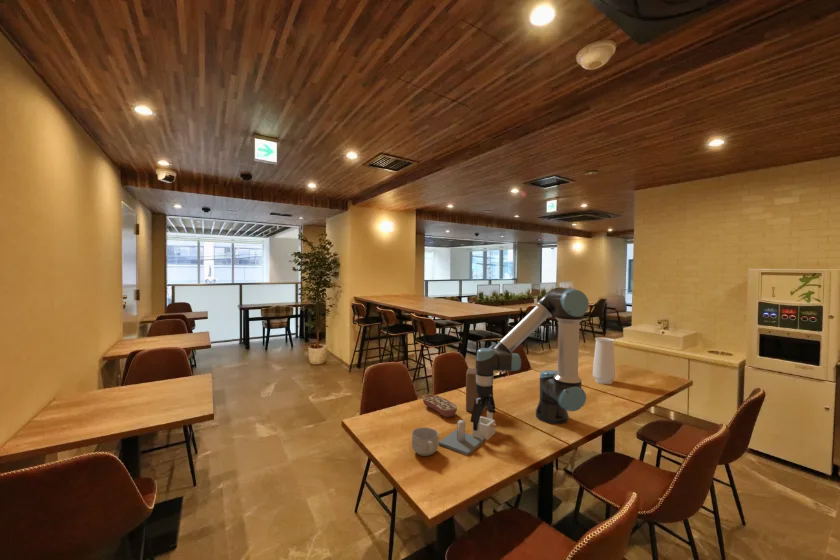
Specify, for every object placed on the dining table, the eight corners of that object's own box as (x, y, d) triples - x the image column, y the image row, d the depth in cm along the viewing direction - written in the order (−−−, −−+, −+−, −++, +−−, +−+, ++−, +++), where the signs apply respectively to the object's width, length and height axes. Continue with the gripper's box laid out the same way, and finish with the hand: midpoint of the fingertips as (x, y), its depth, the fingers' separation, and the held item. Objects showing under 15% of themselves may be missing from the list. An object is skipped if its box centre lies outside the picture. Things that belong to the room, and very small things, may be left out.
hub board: (483, 441, 149) (484, 420, 148) (467, 455, 137) (468, 432, 137) (455, 432, 157) (455, 412, 157) (438, 444, 146) (438, 423, 145)
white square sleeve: (472, 434, 154) (472, 421, 154) (480, 428, 160) (480, 415, 160) (492, 441, 149) (492, 427, 149) (499, 434, 155) (499, 421, 154)
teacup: (411, 445, 145) (411, 426, 145) (436, 444, 146) (437, 425, 146) (413, 464, 131) (413, 443, 131) (441, 463, 132) (441, 442, 132)
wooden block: (485, 413, 177) (485, 374, 176) (465, 411, 179) (465, 373, 178) (485, 405, 187) (486, 368, 186) (467, 404, 189) (467, 367, 188)
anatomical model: (419, 406, 187) (419, 397, 186) (434, 402, 192) (434, 393, 192) (446, 422, 168) (446, 411, 167) (461, 417, 173) (461, 407, 173)
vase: (619, 385, 220) (620, 341, 219) (598, 385, 220) (599, 341, 219) (608, 378, 233) (609, 337, 232) (588, 378, 233) (589, 337, 232)
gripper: (488, 375, 166) (487, 419, 167) (463, 389, 147) (461, 439, 147) (503, 378, 162) (502, 424, 163) (479, 393, 142) (477, 444, 143)
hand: (482, 431), depth 155 cm, fingers open, 12 cm apart
